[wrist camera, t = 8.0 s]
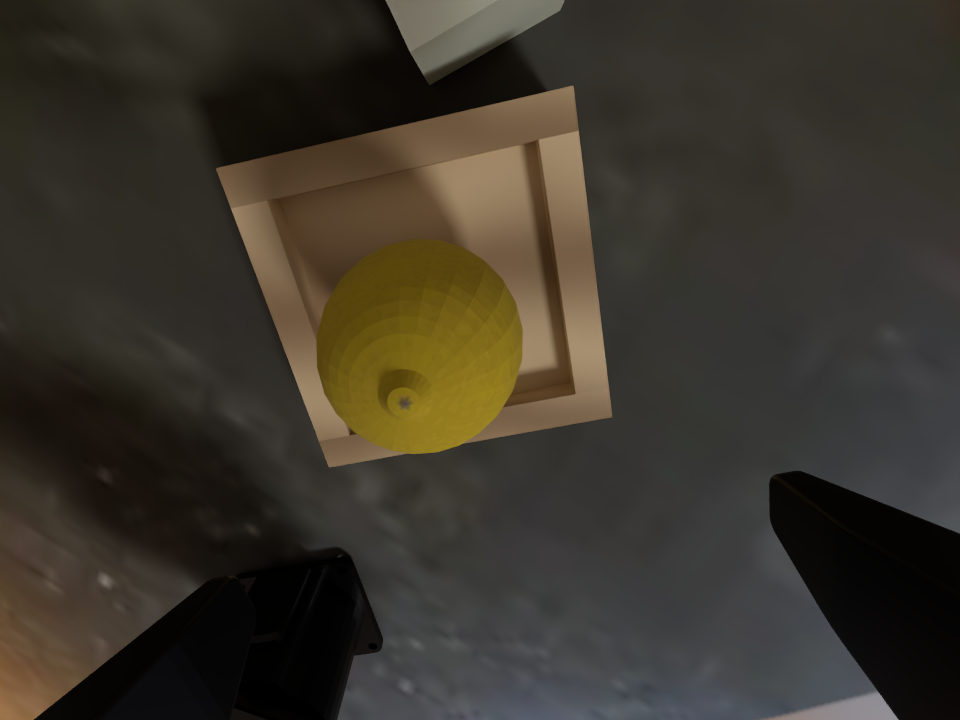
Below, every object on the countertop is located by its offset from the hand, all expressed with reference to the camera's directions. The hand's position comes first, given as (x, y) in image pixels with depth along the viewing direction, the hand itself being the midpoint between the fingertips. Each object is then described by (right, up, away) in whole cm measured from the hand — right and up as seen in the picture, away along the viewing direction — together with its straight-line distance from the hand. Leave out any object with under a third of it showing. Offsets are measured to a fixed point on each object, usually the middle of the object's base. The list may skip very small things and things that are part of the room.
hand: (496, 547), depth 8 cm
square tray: (-2, +6, +11) cm, 13 cm away
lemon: (-2, +5, +9) cm, 11 cm away
